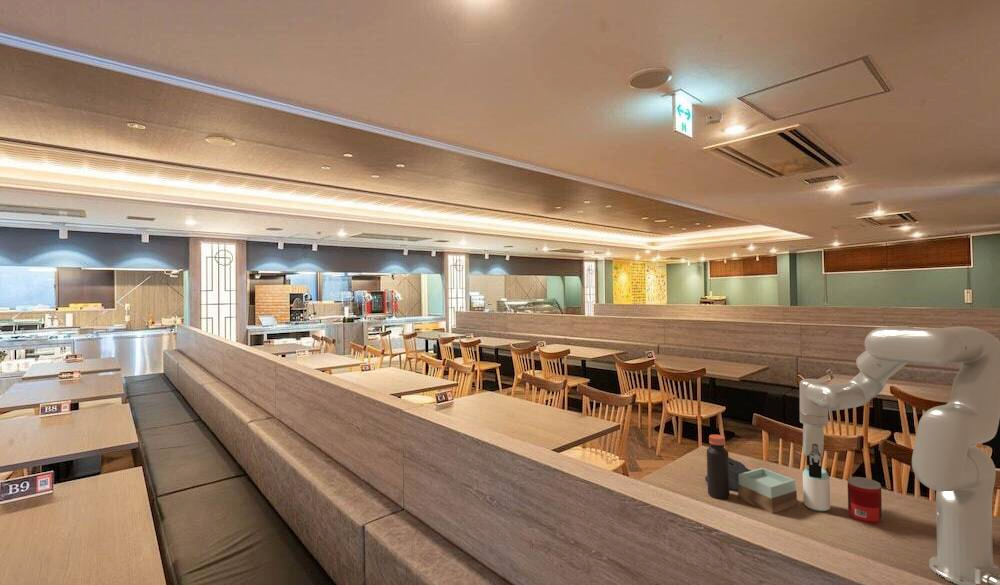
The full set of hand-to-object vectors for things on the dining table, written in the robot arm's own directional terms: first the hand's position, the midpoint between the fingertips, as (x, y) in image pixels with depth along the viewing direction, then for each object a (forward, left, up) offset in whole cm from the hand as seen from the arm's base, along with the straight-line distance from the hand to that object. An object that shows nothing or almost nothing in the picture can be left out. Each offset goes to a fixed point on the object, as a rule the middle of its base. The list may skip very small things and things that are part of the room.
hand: (813, 471), depth 147 cm
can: (-1, 0, -11) cm, 11 cm away
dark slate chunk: (+26, +12, -12) cm, 31 cm away
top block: (+6, +12, -7) cm, 15 cm away
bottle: (+14, +24, -11) cm, 30 cm away
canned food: (-10, -8, -11) cm, 17 cm away
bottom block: (+6, +12, -12) cm, 18 cm away
